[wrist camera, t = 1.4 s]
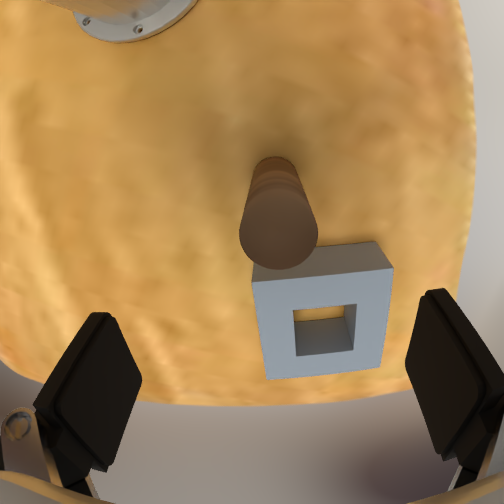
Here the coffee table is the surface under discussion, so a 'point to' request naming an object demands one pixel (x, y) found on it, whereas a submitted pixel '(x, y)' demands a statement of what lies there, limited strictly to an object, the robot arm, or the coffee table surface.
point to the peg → (277, 217)
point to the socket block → (324, 295)
